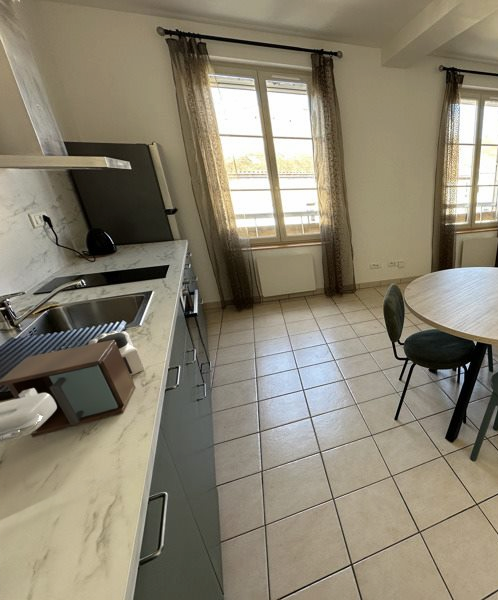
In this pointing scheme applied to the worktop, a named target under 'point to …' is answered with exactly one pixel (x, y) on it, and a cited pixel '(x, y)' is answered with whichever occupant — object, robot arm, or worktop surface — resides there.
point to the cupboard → (42, 366)
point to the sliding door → (82, 393)
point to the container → (125, 352)
